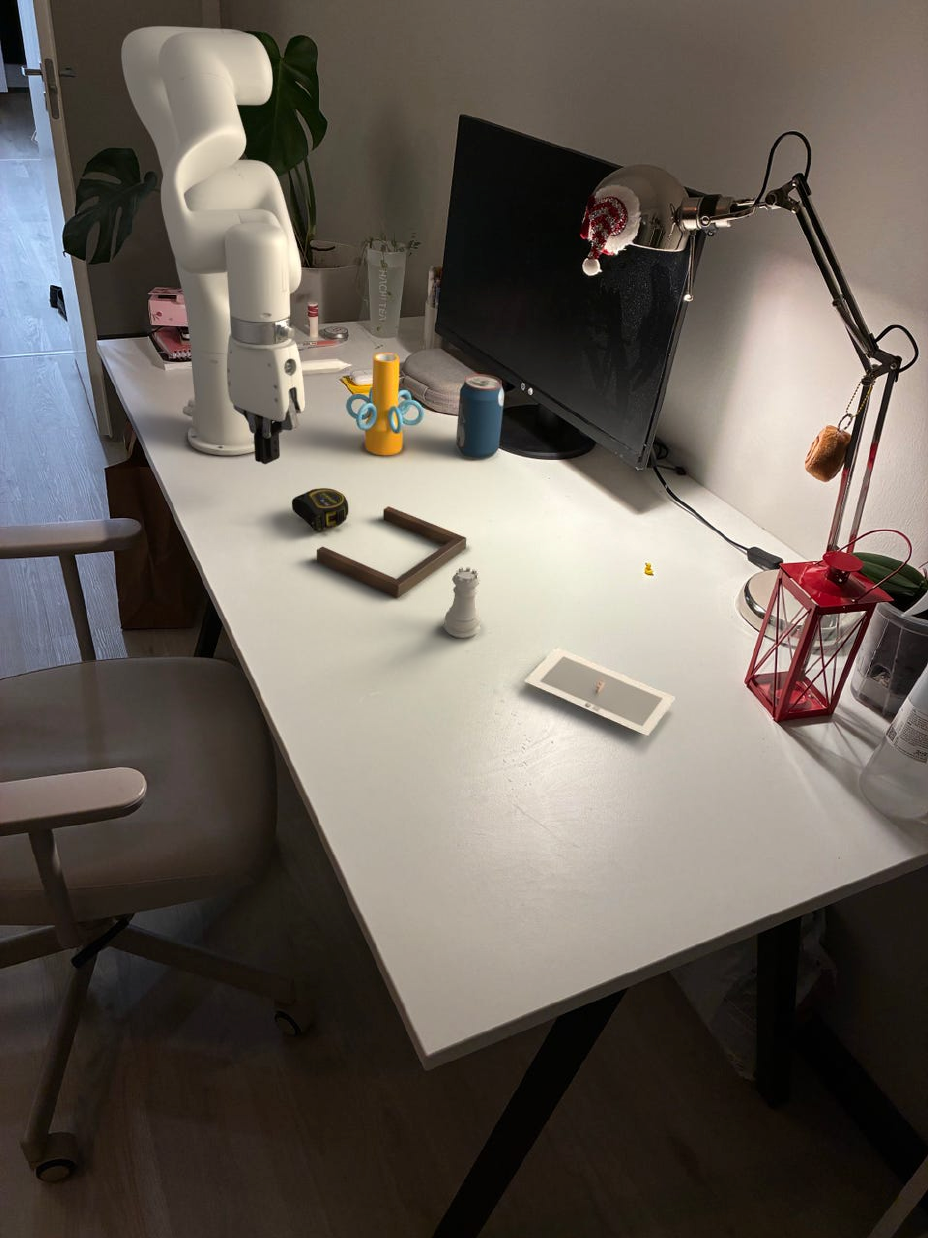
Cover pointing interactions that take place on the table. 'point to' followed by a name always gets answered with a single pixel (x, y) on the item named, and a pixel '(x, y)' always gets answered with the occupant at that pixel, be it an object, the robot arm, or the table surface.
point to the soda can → (480, 416)
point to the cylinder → (384, 408)
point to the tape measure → (321, 508)
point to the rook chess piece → (463, 605)
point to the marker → (322, 366)
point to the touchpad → (601, 690)
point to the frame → (414, 575)
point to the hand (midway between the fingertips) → (267, 459)
